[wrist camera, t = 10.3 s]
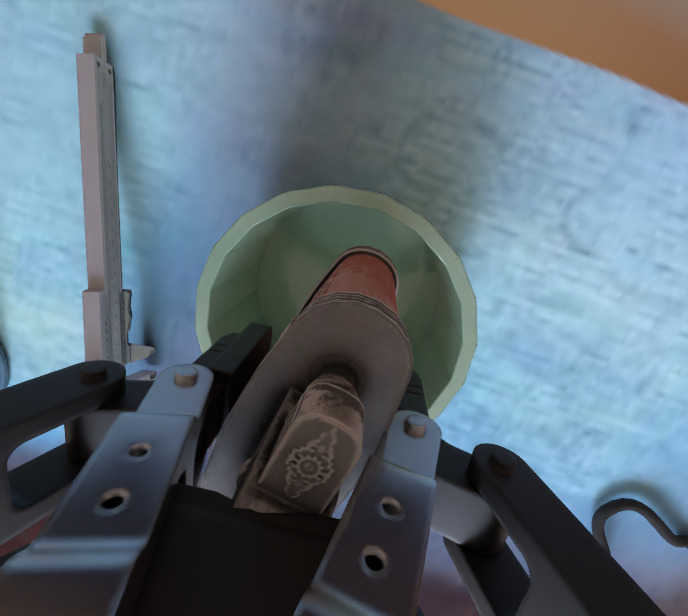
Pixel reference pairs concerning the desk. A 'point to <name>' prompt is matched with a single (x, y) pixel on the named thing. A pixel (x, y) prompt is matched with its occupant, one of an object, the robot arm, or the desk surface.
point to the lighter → (318, 395)
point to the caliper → (103, 215)
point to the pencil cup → (316, 258)
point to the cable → (636, 506)
